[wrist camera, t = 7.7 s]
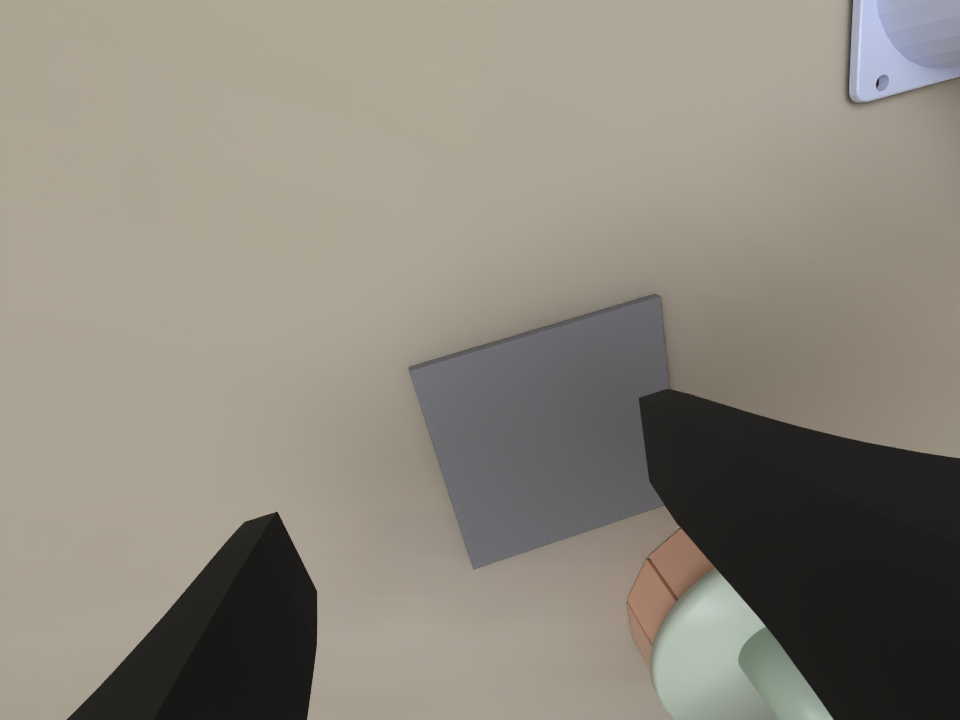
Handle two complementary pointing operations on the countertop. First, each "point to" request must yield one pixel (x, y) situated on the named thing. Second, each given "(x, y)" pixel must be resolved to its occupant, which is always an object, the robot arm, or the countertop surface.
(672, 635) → the lid
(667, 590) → the bowl
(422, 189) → the countertop surface
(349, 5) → the countertop surface
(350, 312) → the countertop surface
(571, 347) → the mat
